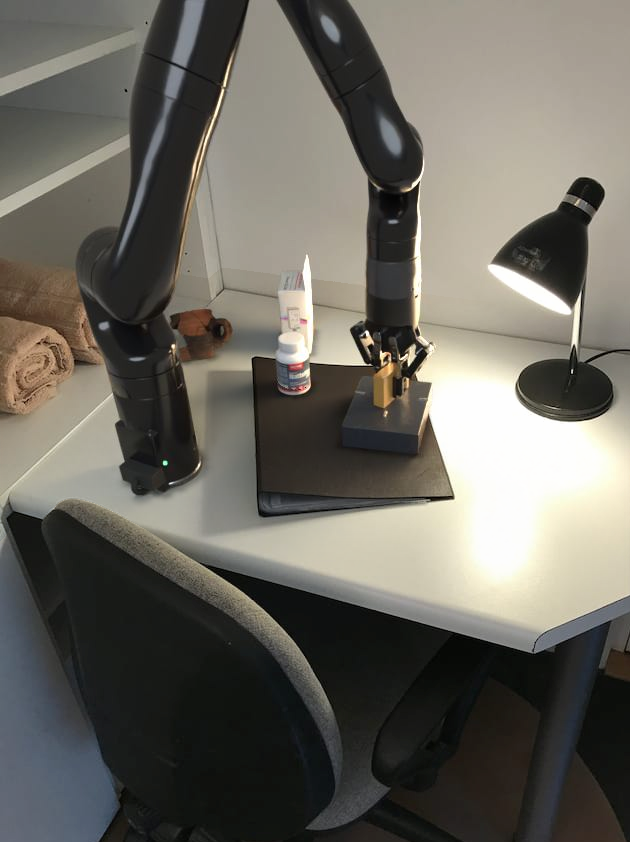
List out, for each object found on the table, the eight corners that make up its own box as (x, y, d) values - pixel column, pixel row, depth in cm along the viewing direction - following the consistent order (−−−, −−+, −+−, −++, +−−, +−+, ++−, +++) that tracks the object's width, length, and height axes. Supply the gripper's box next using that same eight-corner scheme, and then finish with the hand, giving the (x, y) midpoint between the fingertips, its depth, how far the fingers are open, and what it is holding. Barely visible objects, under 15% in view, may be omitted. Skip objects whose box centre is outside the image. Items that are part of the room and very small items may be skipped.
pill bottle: (291, 399, 119) (286, 349, 113) (271, 386, 122) (266, 337, 116) (317, 387, 121) (314, 338, 116) (297, 375, 124) (293, 326, 119)
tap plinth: (418, 454, 107) (419, 433, 105) (341, 446, 109) (340, 425, 107) (432, 399, 118) (433, 379, 116) (362, 392, 120) (362, 372, 118)
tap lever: (383, 408, 110) (383, 377, 107) (373, 405, 111) (373, 374, 107) (408, 387, 114) (409, 356, 111) (398, 383, 115) (399, 353, 112)
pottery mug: (164, 365, 128) (153, 316, 127) (190, 362, 137) (181, 316, 136) (227, 353, 125) (217, 303, 124) (250, 351, 134) (241, 304, 133)
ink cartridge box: (286, 331, 136) (280, 252, 127) (314, 331, 136) (309, 252, 127) (282, 354, 130) (275, 273, 120) (311, 354, 130) (305, 273, 120)
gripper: (334, 282, 102) (338, 391, 113) (423, 307, 96) (418, 420, 107) (365, 263, 107) (366, 369, 118) (451, 286, 100) (444, 395, 111)
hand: (391, 393), depth 112 cm, fingers closed on tap lever, 2 cm apart
